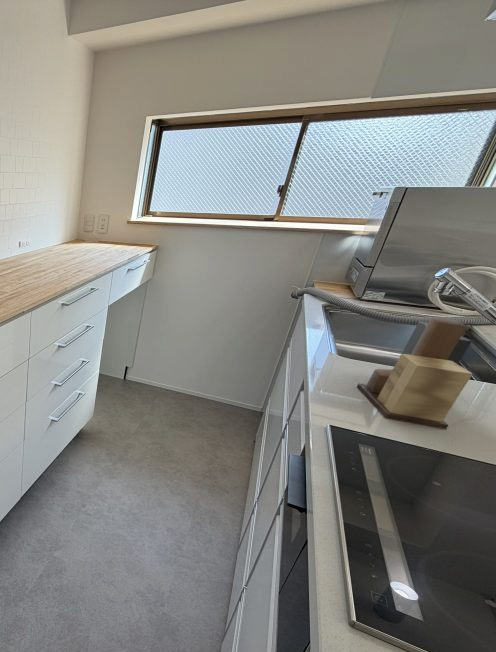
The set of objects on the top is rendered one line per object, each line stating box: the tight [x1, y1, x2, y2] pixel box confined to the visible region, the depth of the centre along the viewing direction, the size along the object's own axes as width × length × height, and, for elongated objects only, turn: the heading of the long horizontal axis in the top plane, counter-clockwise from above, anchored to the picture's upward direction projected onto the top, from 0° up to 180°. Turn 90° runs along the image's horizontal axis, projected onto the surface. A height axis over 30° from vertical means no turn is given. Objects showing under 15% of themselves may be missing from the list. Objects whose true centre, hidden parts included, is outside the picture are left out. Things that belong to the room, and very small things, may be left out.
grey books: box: [401, 321, 473, 365], centre depth 98 cm, size 6×9×15 cm
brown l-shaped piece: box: [366, 316, 468, 394], centre depth 91 cm, size 9×4×18 cm, turn 61°
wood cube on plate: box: [356, 353, 473, 430], centre depth 89 cm, size 10×16×12 cm, turn 158°
